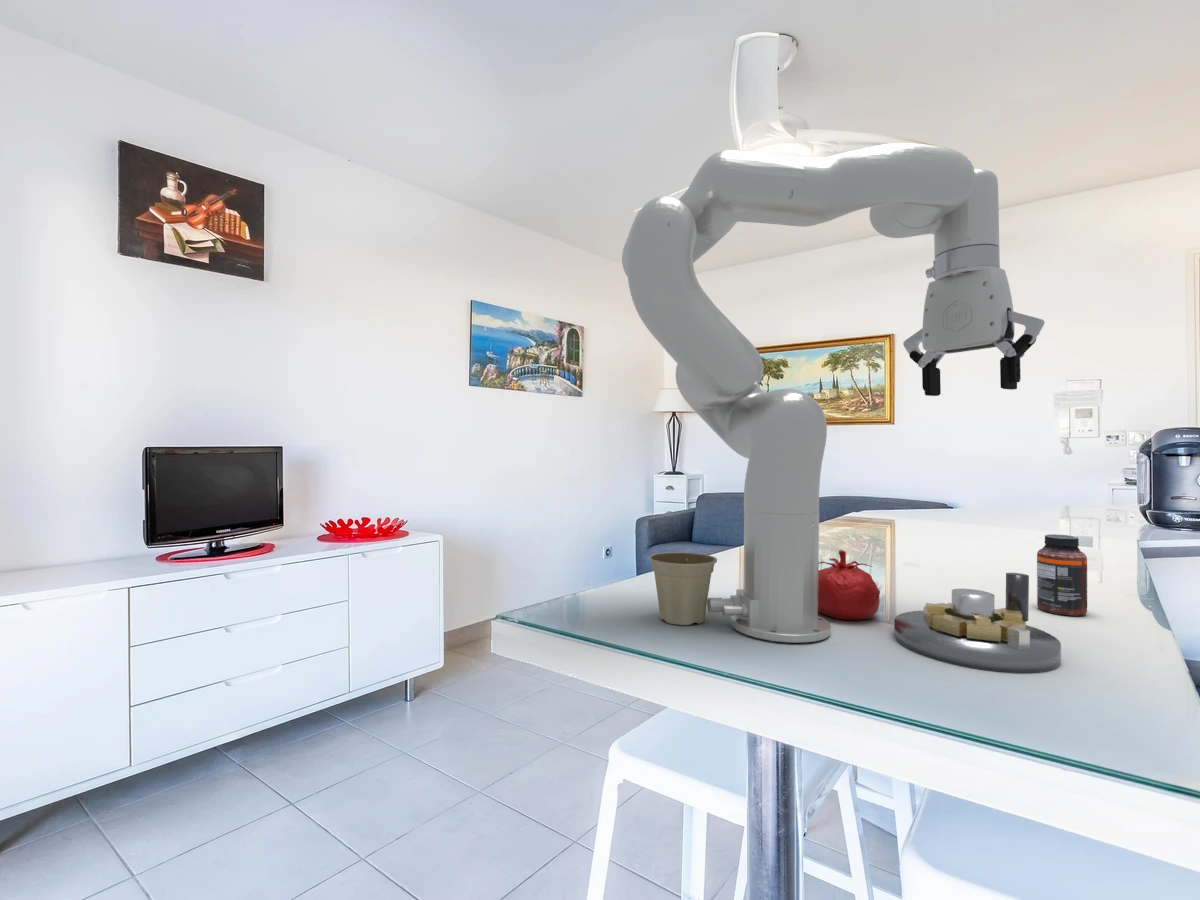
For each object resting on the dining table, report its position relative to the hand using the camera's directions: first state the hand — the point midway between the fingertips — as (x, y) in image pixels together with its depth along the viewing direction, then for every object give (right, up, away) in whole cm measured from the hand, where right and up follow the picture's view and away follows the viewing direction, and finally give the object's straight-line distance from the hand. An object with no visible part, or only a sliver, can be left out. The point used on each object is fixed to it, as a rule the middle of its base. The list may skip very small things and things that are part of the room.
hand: (968, 392), depth 80 cm
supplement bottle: (+19, -32, +7) cm, 38 cm away
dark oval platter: (-5, -32, -9) cm, 33 cm away
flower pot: (-39, -32, +1) cm, 50 cm away
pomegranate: (-15, -32, +4) cm, 36 cm away
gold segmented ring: (-3, -30, -8) cm, 31 cm away
